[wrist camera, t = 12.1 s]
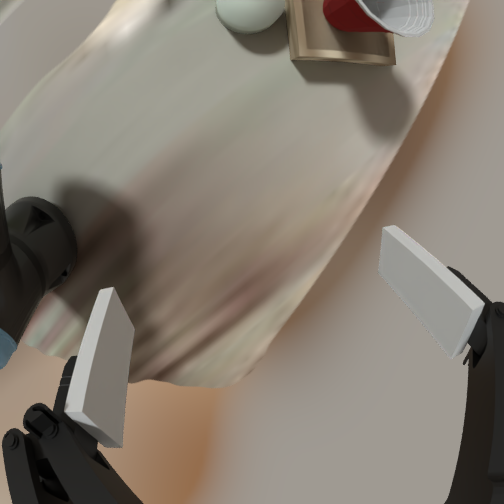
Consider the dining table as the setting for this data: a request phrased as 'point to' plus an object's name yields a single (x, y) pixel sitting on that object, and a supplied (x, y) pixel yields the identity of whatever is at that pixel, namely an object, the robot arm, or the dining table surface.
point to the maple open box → (333, 38)
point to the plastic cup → (381, 16)
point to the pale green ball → (249, 14)
